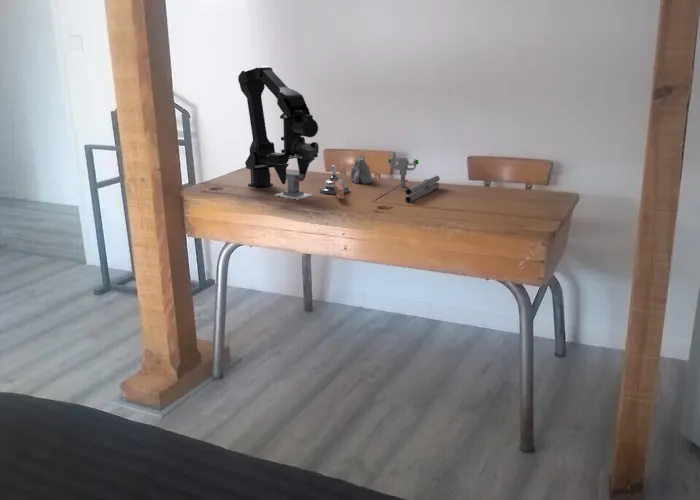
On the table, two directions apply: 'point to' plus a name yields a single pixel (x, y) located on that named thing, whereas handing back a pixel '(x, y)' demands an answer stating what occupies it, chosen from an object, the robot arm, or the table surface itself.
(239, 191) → the table surface
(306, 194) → the mat
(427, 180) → the metal rod assembly
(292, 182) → the grey stepped block
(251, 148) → the robot arm
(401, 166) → the mechanical component
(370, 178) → the mineral rock
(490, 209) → the table surface
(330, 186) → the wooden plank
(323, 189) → the chuck base
